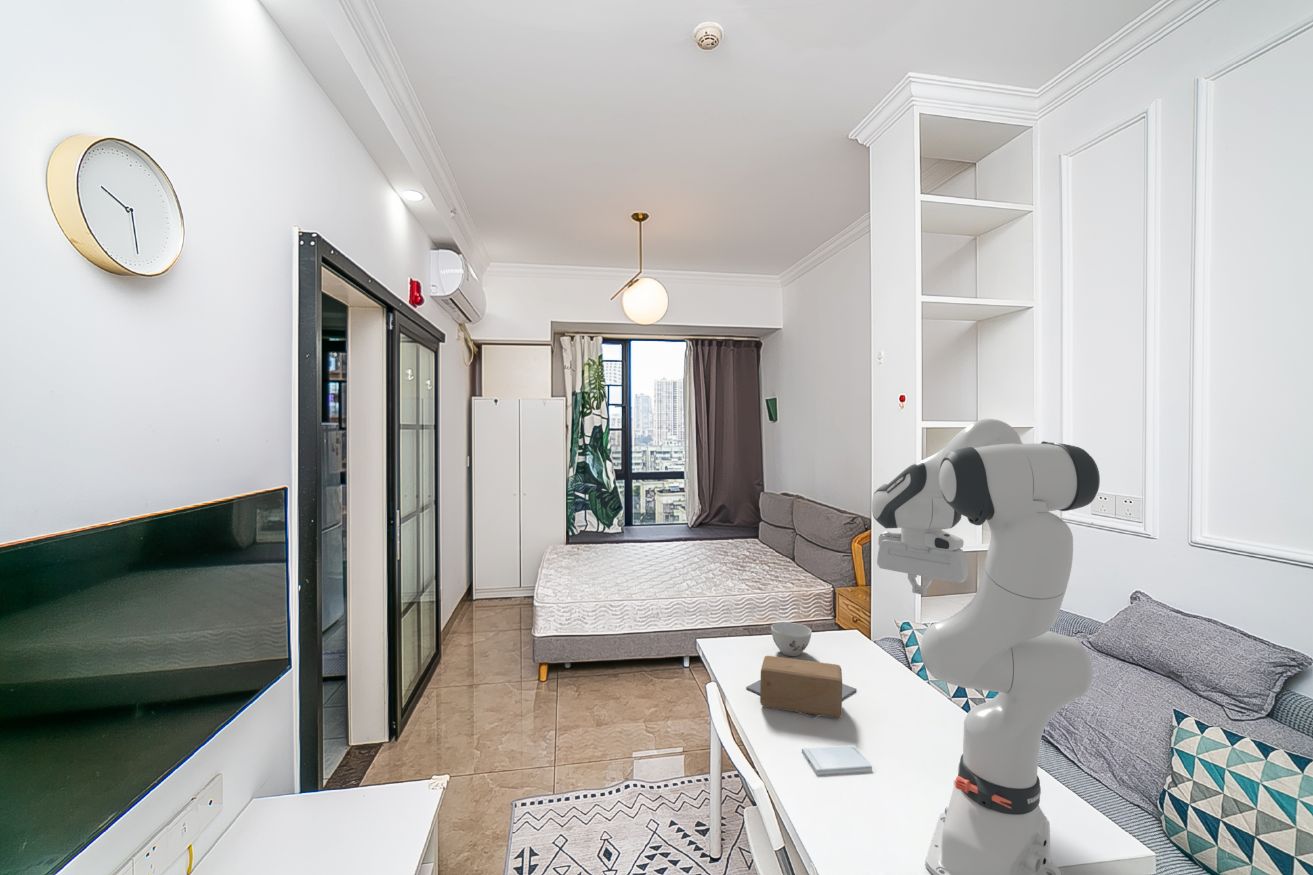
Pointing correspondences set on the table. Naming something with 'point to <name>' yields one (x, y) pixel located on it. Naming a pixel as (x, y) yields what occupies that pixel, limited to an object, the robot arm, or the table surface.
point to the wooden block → (801, 686)
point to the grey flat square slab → (845, 693)
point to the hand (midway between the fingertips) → (919, 593)
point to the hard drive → (836, 760)
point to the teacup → (791, 637)
